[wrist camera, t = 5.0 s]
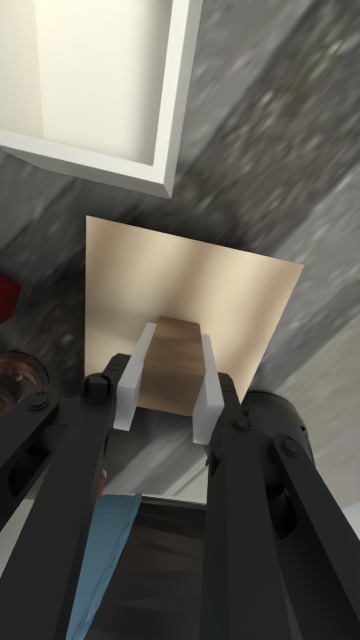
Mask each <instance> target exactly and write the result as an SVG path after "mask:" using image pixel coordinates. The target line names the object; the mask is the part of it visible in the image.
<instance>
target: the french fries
mask: <svg viewBox="0 0 360 640" xmlns="http://www.w3.org/2000/svg"><path fill="white" fill-rule="evenodd" d="M21 286H22V285H20V284H18V283H17V282H15V281H13V280H11V279H9V278H8V277H6V276H4V275H2V274H0V324H1V323H3V322H4V321H6V320H7V319H9V318H11V317H12V315H13V312H14V309H15V305H16V302H17V299H18V296H19V292H20V289H21Z"/></svg>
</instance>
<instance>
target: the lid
mask: <svg viewBox="0 0 360 640" xmlns="http://www.w3.org/2000/svg"><path fill="white" fill-rule="evenodd" d="M303 267H304V265H302V264H297V263H293V262H289V261H284V260H280V259H275V258H271V257H267V256H262V255H258V254H254V253H249V252H245V251H240V250H236V249H232V248H227V247H223V246H219V245H214V244H210V243H205V242H201V241H197V240H192V239H188V238H183V237H179V236H175V235H170V234H166V233H162V232H157V231H153V230H148V229H144V228H140V227H135V226H131V225H126V224H122V223H118V222H113V221H109V220H105V219H100V218H96V217H91V216H87V215H86V298H85V377H86V376H88V375H90V374H93V373H101V372H103V370H104V369H105V367H106V366H107V364H108V363H109V361H110V359H111V358H112V357H113V356H114V355H116V354H117V353H122V354H127V355H132V354H133V352H134V350H135V348H136V346H137V343H138V341H139V339H140V337H141V335H142V333H143V331H144V329H145V327H146V325H147V323H148V322H149V323H154V324H157V326H156V328H155V331H154V334H153V337H152V339H151V342H150V345H149V347H148V350H147V353H146V356H145V358H144V362H143V364H144V365H143V371H142V377H141V384H140V390H139V396H138V402H137V407H143V408H148V409H153V410H159V411H164V412H170V413H175V414H180V415H186V416H191V417H192V413H193V410H194V407H195V404H196V401H197V398H198V395H199V392H200V389H201V386H202V383H203V380H204V376H205V374H206V369H205V361H204V354H203V346H202V338H201V333H202V334H207V335H210V340H211V345H212V349H213V354H214V359H215V363H216V368H217V372H221V373H226V374H228V375H229V376H230V377H231V378H232V380H233V382H234V386H235V389H236V392H237V393H236V394H237V395H238V398H239V402H240V405H241V403H242V400H243V398H244V396H245V394H246V392H247V389H248V387H249V385H250V383H251V381H252V378H253V376H254V374H255V372H256V370H257V368H258V365H259V363H260V361H261V359H262V357H263V354H264V352H265V350H266V348H267V346H268V343H269V341H270V339H271V337H272V335H273V332H274V330H275V328H276V326H277V324H278V322H279V319H280V317H281V315H282V313H283V311H284V308H285V306H286V304H287V302H288V300H289V297H290V295H291V293H292V291H293V289H294V287H295V284H296V282H297V280H298V278H299V276H300V273H301V271H302V269H303Z"/></svg>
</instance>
